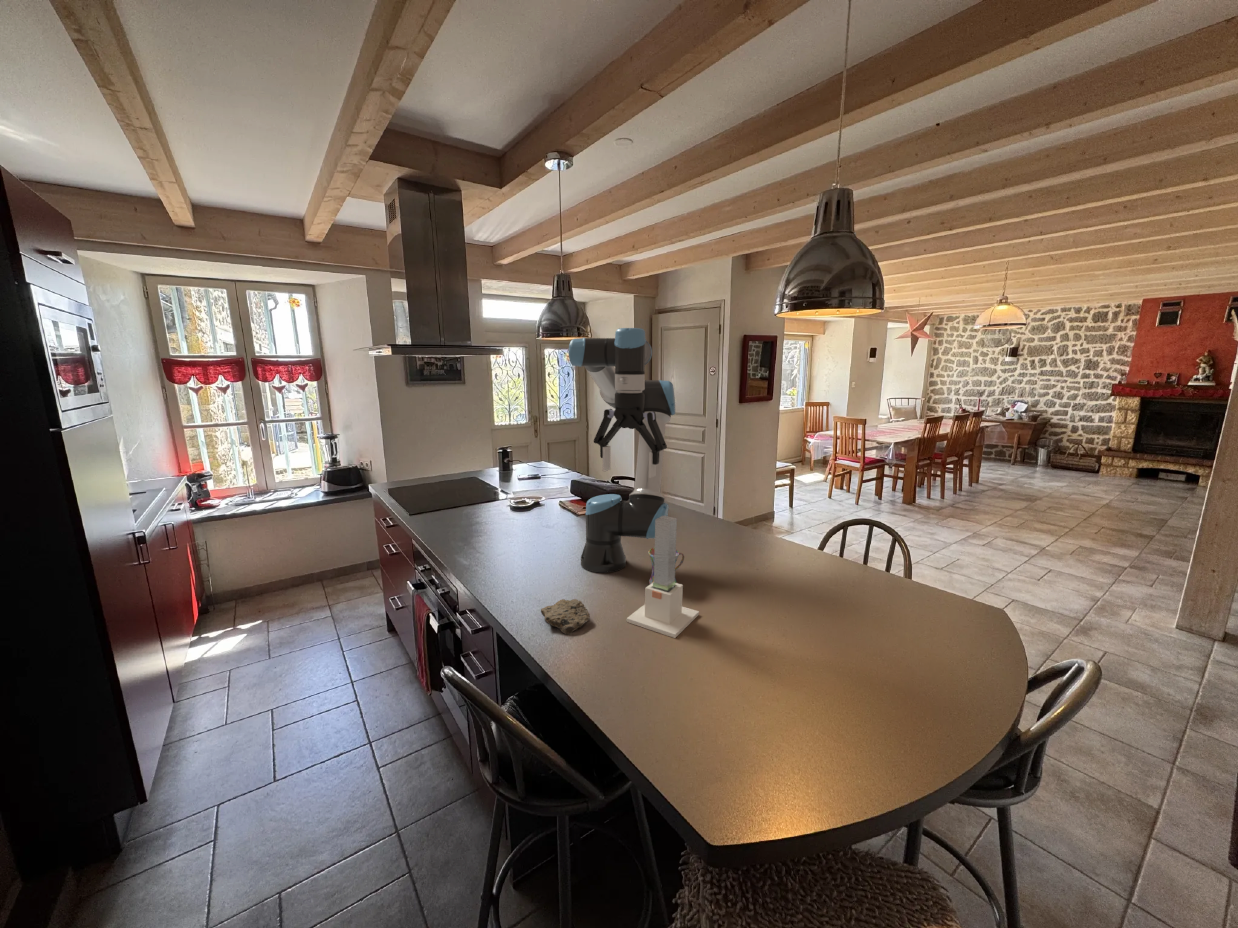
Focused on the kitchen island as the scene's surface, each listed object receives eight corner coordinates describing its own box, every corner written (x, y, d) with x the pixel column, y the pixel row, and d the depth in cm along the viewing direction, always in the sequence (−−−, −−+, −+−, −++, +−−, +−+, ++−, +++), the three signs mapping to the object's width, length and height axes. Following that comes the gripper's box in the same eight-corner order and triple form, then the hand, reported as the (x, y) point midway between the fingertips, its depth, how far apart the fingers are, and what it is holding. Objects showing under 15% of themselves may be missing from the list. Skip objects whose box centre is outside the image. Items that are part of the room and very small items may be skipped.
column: (660, 587, 131) (662, 515, 127) (675, 591, 129) (677, 518, 125) (652, 593, 127) (654, 519, 124) (667, 597, 125) (669, 522, 121)
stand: (653, 600, 139) (653, 571, 137) (698, 614, 131) (700, 583, 130) (626, 621, 127) (627, 589, 126) (674, 638, 120) (676, 603, 118)
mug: (657, 594, 143) (658, 559, 141) (642, 582, 151) (642, 549, 149) (691, 586, 148) (693, 553, 146) (674, 575, 157) (675, 543, 154)
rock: (552, 638, 120) (551, 622, 119) (538, 617, 130) (538, 601, 129) (594, 628, 124) (594, 612, 123) (578, 608, 135) (577, 593, 134)
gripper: (580, 390, 127) (581, 470, 131) (668, 394, 115) (666, 482, 119) (595, 388, 133) (596, 465, 138) (681, 392, 121) (678, 476, 125)
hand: (628, 473), depth 128 cm, fingers open, 13 cm apart
